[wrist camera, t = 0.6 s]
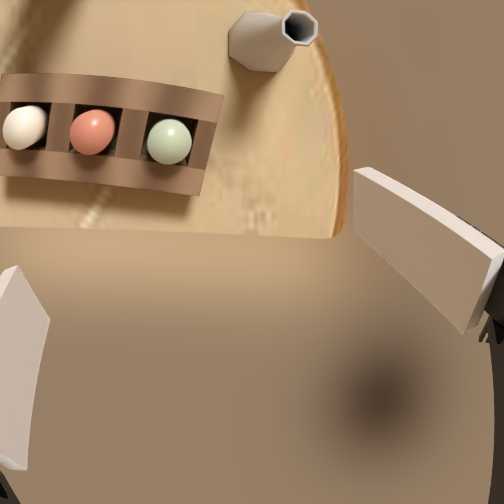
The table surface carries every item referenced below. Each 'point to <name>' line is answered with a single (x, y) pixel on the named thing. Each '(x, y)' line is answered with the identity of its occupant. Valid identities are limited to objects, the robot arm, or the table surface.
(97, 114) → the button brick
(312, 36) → the flask
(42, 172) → the console
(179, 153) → the button sage
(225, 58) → the table surface
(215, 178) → the table surface
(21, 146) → the button ivory
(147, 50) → the table surface
